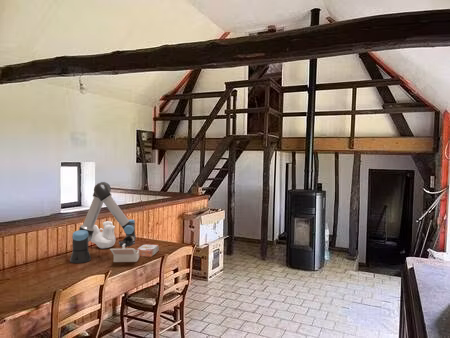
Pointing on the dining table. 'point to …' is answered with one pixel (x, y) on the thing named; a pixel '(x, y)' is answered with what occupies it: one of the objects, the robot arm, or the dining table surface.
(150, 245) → the cracker box
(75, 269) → the dining table surface
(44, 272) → the dining table surface
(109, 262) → the dining table surface
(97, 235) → the decorative rooster
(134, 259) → the box
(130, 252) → the mailer lid
